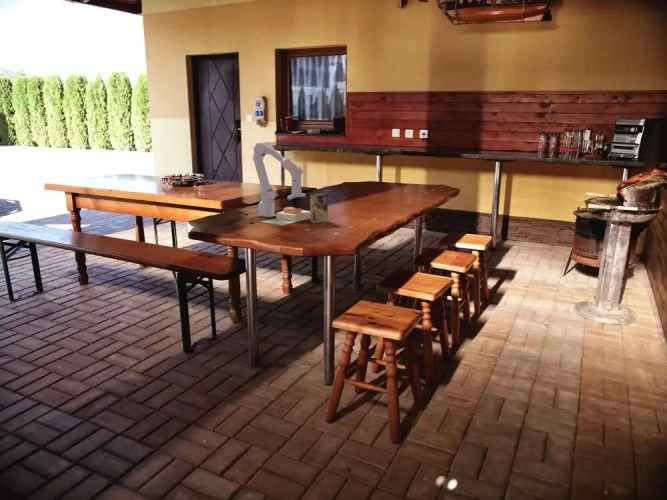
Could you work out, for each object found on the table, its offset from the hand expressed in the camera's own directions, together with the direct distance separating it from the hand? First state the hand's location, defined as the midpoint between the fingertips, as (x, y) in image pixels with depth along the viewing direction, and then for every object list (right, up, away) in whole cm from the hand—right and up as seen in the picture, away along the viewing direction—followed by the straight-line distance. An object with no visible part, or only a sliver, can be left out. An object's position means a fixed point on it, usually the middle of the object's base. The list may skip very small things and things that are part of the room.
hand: (296, 209), depth 315 cm
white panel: (-1, -5, -1) cm, 6 cm away
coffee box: (+14, -8, -9) cm, 18 cm away
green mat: (-9, -8, -12) cm, 17 cm away
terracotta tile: (-2, -1, -3) cm, 4 cm away
